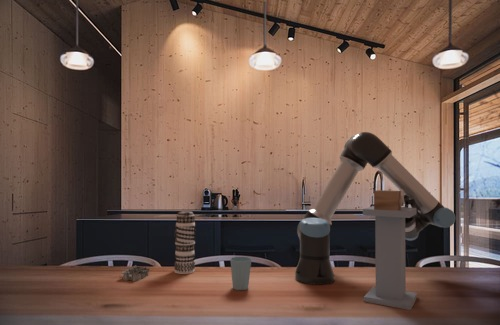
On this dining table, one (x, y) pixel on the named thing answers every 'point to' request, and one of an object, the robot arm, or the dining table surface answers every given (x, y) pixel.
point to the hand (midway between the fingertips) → (395, 192)
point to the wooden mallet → (387, 200)
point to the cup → (240, 272)
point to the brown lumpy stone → (135, 273)
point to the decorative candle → (185, 242)
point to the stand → (390, 258)
